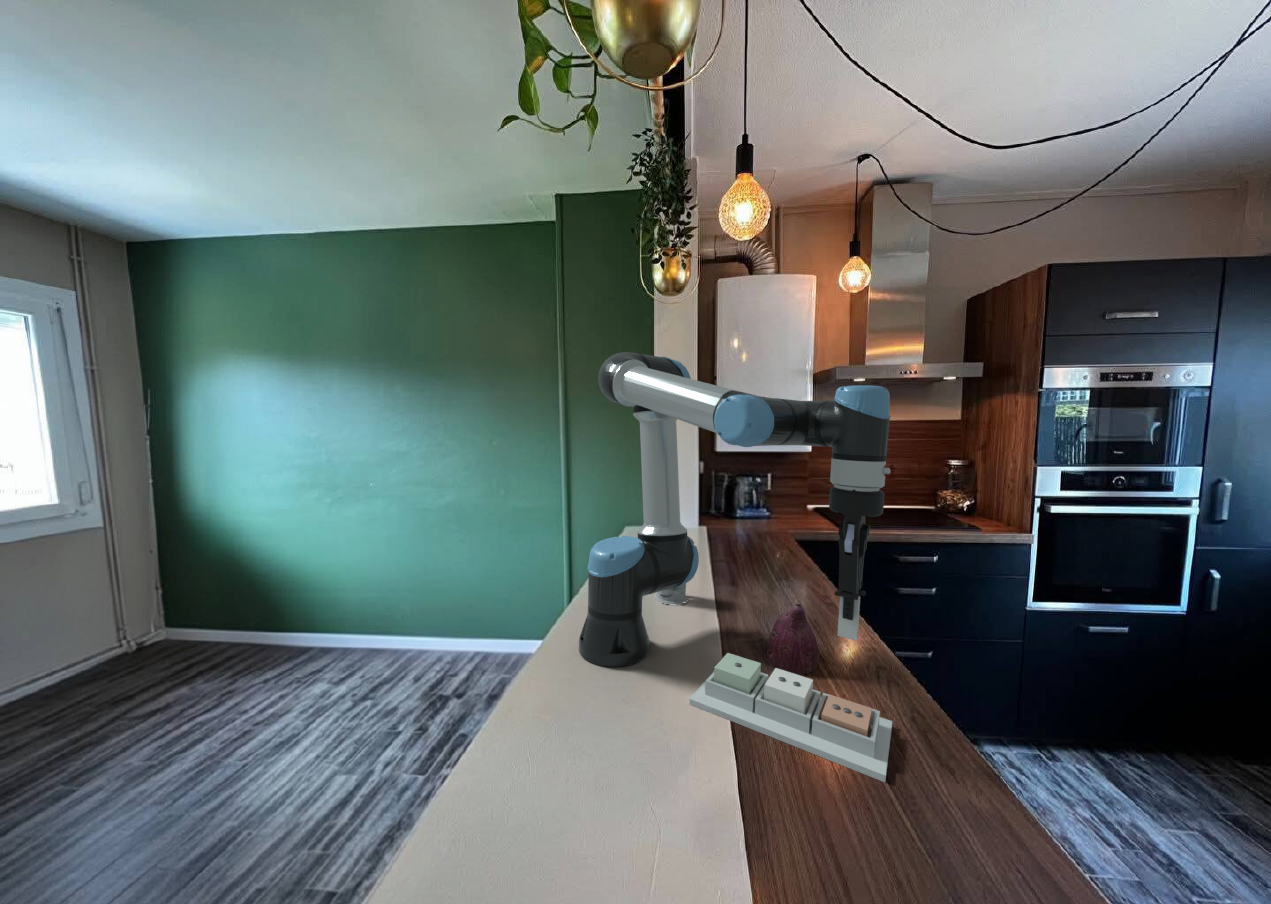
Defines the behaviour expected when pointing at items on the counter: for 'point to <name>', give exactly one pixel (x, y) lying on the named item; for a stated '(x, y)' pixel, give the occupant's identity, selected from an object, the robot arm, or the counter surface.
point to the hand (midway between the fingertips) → (847, 636)
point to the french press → (672, 595)
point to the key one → (737, 673)
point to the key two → (789, 690)
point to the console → (801, 726)
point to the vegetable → (793, 643)
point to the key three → (847, 715)
